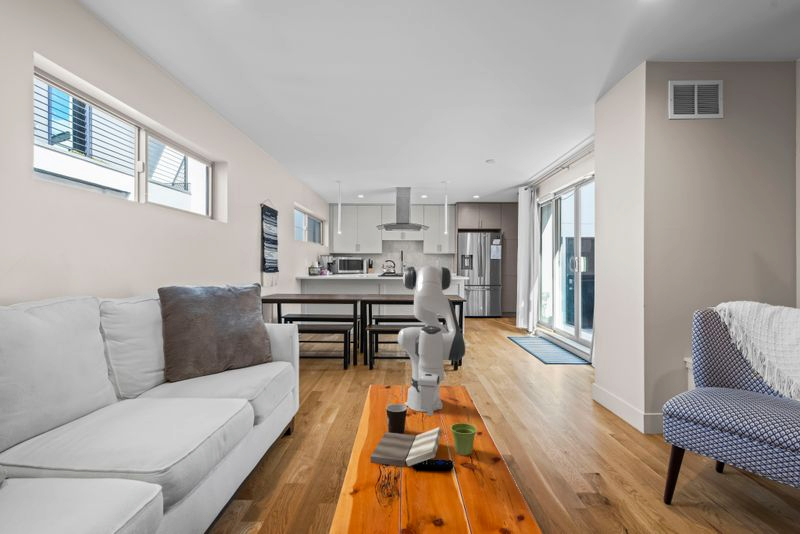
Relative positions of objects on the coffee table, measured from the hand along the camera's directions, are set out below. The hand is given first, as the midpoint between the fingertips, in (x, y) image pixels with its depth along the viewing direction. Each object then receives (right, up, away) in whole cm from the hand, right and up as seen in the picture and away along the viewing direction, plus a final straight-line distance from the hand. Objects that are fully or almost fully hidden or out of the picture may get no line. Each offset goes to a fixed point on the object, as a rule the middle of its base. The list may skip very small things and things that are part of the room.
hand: (430, 414), depth 127 cm
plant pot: (+13, -17, +8) cm, 23 cm away
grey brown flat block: (-13, -17, +8) cm, 22 cm away
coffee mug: (-12, -17, +25) cm, 33 cm away
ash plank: (-1, -14, +5) cm, 15 cm away
